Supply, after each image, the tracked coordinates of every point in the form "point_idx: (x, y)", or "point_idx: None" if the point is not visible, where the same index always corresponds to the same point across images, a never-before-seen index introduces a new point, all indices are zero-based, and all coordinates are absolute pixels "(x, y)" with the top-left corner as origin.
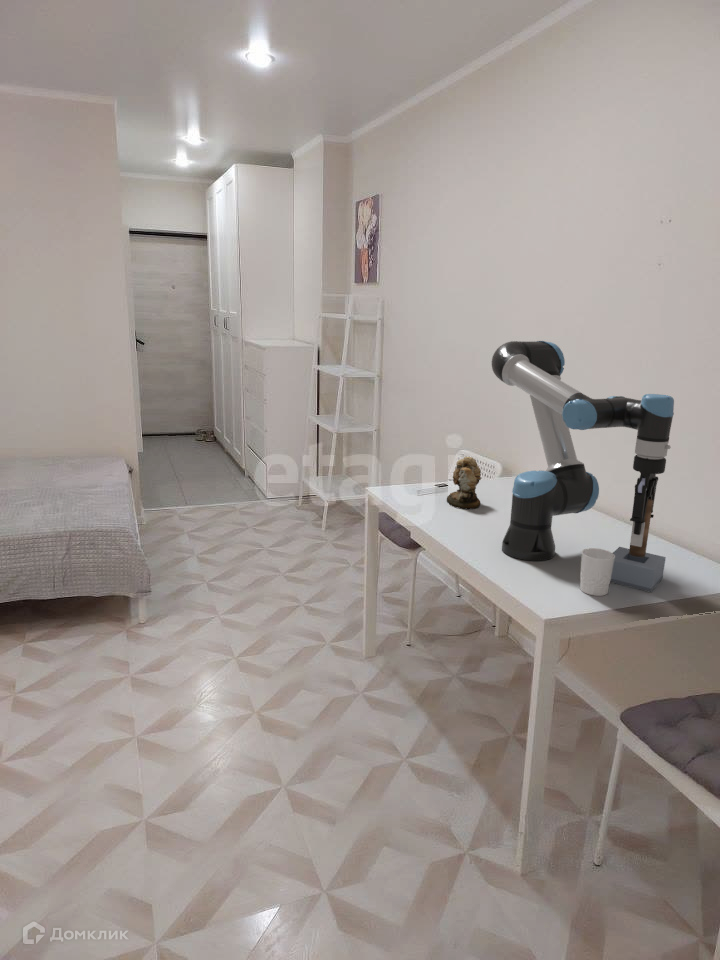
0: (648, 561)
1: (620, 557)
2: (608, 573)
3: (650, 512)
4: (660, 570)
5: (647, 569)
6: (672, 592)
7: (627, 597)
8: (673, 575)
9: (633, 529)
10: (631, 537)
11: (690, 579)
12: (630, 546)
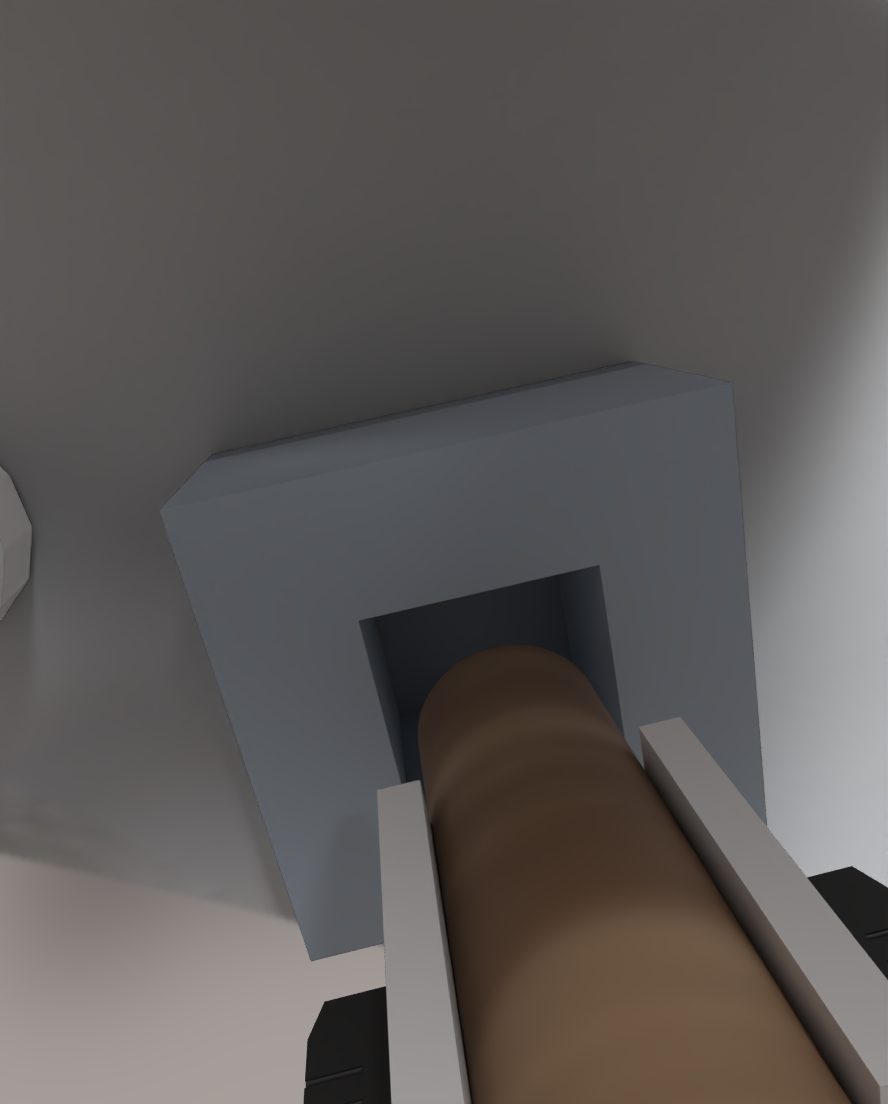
0: None
1: (363, 591)
2: None
3: None
4: None
5: (296, 904)
6: None
7: (61, 763)
8: (796, 744)
9: (390, 1021)
10: (381, 875)
11: (803, 844)
12: (453, 728)
